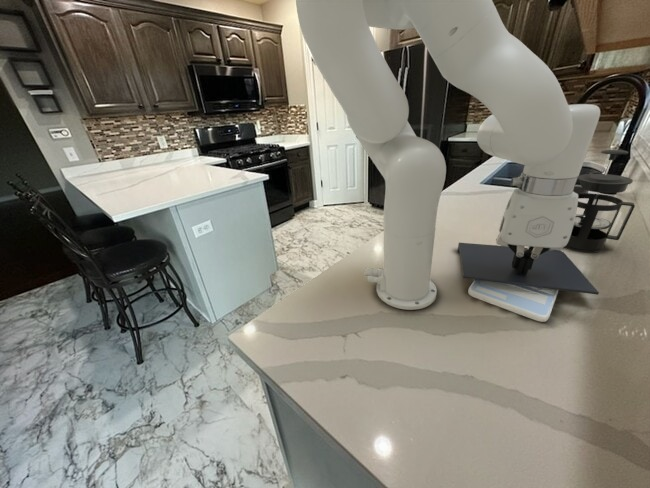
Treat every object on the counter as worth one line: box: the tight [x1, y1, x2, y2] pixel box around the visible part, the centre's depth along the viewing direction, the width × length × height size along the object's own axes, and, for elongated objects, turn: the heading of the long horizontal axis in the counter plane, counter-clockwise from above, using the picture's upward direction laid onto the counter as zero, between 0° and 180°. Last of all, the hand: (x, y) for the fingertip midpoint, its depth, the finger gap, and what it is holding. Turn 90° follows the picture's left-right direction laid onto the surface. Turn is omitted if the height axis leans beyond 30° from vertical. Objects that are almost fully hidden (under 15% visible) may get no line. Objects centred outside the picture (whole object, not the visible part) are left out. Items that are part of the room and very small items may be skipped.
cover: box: [458, 243, 600, 296], centre depth 57 cm, size 22×16×1 cm
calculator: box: [467, 279, 560, 323], centre depth 55 cm, size 13×20×2 cm, turn 135°
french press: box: [563, 149, 636, 253], centre depth 61 cm, size 12×9×23 cm
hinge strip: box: [457, 242, 563, 253], centre depth 65 cm, size 22×1×2 cm, turn 68°
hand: (519, 270), depth 54 cm, fingers closed
